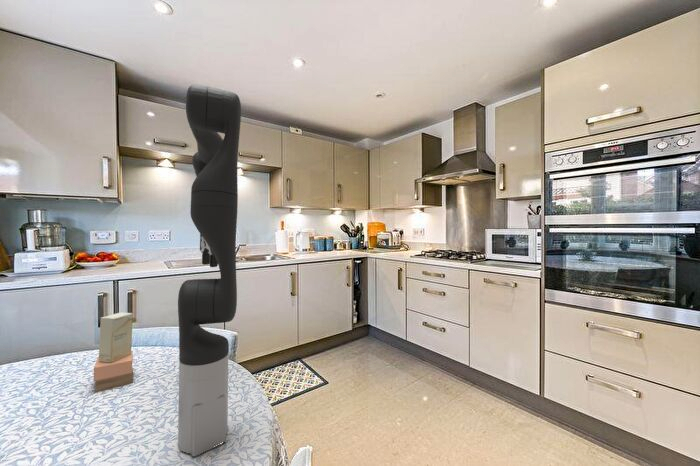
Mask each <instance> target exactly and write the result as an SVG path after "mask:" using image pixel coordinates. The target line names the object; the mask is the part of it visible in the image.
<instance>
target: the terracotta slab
mask: <svg viewBox="0 0 700 466" xmlns="http://www.w3.org/2000/svg"><path fill="white" fill-rule="evenodd" d="M133 353H134V351H133V350H131V354H130V355H128V356H126V357H124V358H121V359H119V360H116V361H114V362H102V361H99V356H97V358H96V360H95V364H94V365H93V382H95V381H97V380H101V379H106V378H111V377H115V376H120V375H124V374H129V373H132V368H133V357H134V356H133Z"/></svg>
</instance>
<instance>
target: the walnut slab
mask: <svg viewBox="0 0 700 466" xmlns="http://www.w3.org/2000/svg"><path fill="white" fill-rule="evenodd" d="M94 382H95V384H94V385H95V387H94V393H100V392H102V391H106V390H110V389H114V388H115V389H116V388H119V387H121V386H126V385H129V384H133V383H134V368H133V367H132V373H129V374H124V375H120V376H115V377H111V378H106V379H101V380H97V381H94Z"/></svg>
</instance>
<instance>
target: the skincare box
mask: <svg viewBox="0 0 700 466" xmlns="http://www.w3.org/2000/svg"><path fill="white" fill-rule="evenodd" d="M133 313H134V312H125V311H123V312H122V311H121V312H120V311H119V312H117V313H116V312H115V313H112V314H109V315H106V316H102V317H100V321H99V322H100V323H99V324H100V325H99V326H100V327H99V342H98V343H99V345H98V346H99V347H98V357H99V361H102V362H114V361H116V360H119V359H121V358H124V357H126V356H128V355H130V354H131V351H132V344H133V343H132V341H133V338H132V337H133V319H134V317H133V316H134V314H133Z"/></svg>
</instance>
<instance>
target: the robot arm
mask: <svg viewBox="0 0 700 466" xmlns="http://www.w3.org/2000/svg"><path fill="white" fill-rule="evenodd" d="M185 114H186V119H187V123H188V125H189V128H190V130H191V132H192V135H193V137H194V139H195V142H196V145H197V146H196V147H197V151H196V152H195V153H194V154H193V156H192V160H191V161H192V166H193V171H194V173H195V176H196V177H195V179H194V180H193V181H192V183H191V189H190V190H191V191H190V217H191V220H192V223H193V224H194V226H195V228H196V230H198V232H199V239H200V240H199V252H200V253H201V264H202V265H203V266H205V265H207V266H208V265H209V267H210V268H217V267H218V269H219V272H220V273H219V274H220V278H202V279H201V278H198V279H197V278H196V279H193V278H192V279H186V280H185V281H183V282H182V283H181V286H180V288H179V291H178V299H177V313H178V314H177V315H178V316H177V318H178V336H179V337H178V338H179V339H178V340H179V342H178V349H179V351H178V352H179V355H178V356H179V358H178V359H179V360H178V364H179V365H178V371H179V372H178V405H177V406H178V408H177V409H178V410H177V411H178V412H177V413H178V416H177V417H178V418H177V420H178V421H177V423H178V425H177V426H178V427H177V429H178V431H177V434H178V435H177V446H178V450H179V451H180V452H182V451H183V452H182V453H184V452H186V453H185V454H188V453H190V454H189V455H190V456H191V457H192V456H195V457H197V456H199V455H201V453H202V452H204V453H206V452H208V451H210V450H212V449H211V448H213V447H214V446H216V445H218V444H220V443H222V442H225V441H227V440H226V439H227V435H228V418H229V417H228V413H229V412H228V410H229V409H228V408H229V405H228V403H229V359H230V358H229V350H230V343H229V340H228V338H226V337H225V336H224V335H222V334H217V333H214V332H210V331H208V330H206V329H204V328H203V327H202V326H201V325H210V324H213V325H214V324H223V323H228V322H229V323H230V322H232V321H233V320H234V318H235V316H236V312H237V307H238V304H237V302H238V291H237V290H238V289H237V288H238V286H237V285H238V284H237V283H238V282H237V263H236V262H237V260H236V259H237V258H236V257H237V256H236V240H237V224H238V223H237V222H238V220H237V219H238V204H239V203H238V200H239V199H238V198H239V197H238V196H239V195H238V191H239V190H238V161H239V160H238V157H239V145H240V143H239V142H240V135H241V134H240V133H241V119H242V105H241V99H240V97H239V95H238V94H236V93H235V92H233V91H230V90H226V89H221V88H216V87H212V86H207V85H203V84H196V83H195V84H191V85H190V86H189V87H188V89H187V90H186V96H185ZM219 133H221V134H224V136H223V138H222V136H221V134H219ZM226 434H227V435H226ZM225 443H226V442H225ZM209 449H210V450H209ZM213 449H214V448H213ZM207 450H208V451H207ZM205 451H206V452H205ZM202 454H203V453H202ZM196 455H197V456H196Z"/></svg>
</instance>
